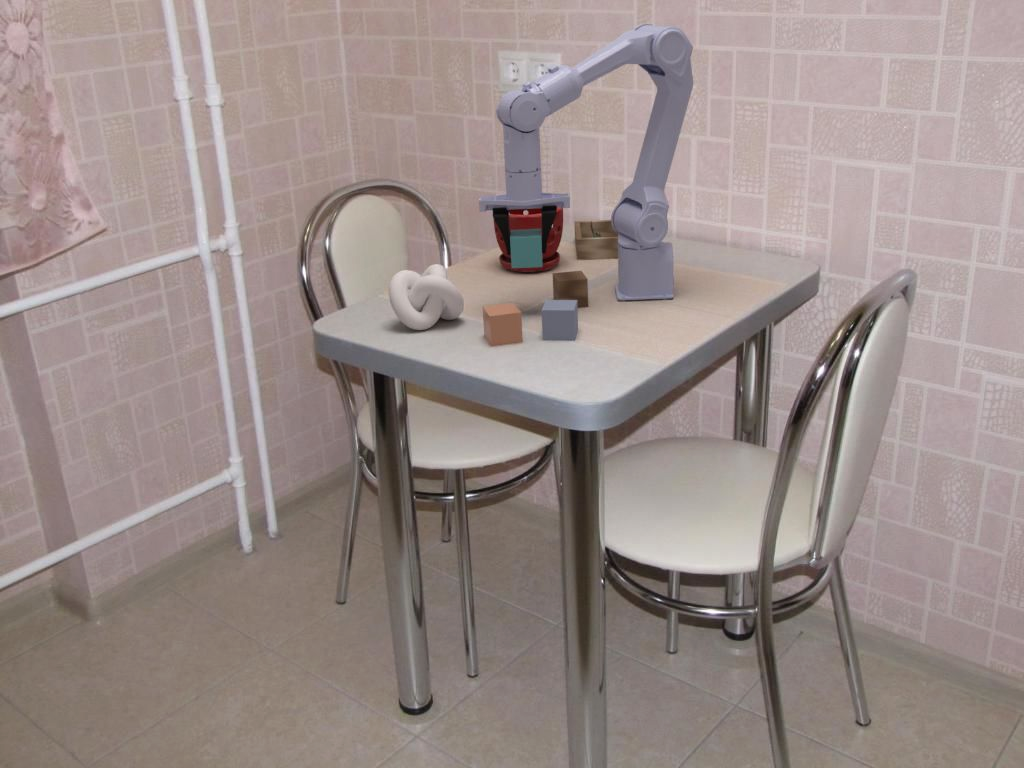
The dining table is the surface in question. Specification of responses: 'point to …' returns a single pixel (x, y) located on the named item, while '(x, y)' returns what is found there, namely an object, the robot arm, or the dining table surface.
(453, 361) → the dining table surface
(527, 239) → the teal block
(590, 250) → the wooden compartment box
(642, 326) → the dining table surface
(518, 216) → the plant pot
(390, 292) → the white knot sculpture
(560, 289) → the walnut block
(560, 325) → the slate-blue block
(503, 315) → the terracotta block
